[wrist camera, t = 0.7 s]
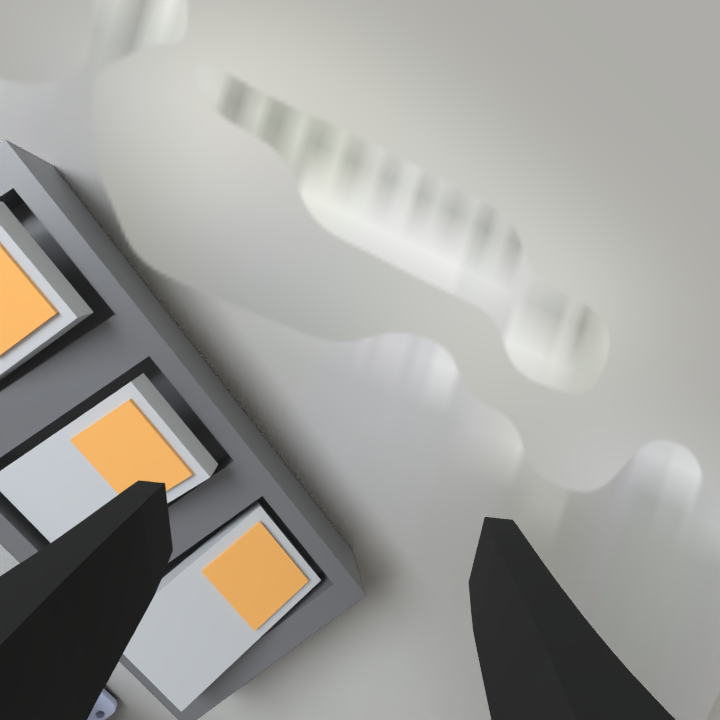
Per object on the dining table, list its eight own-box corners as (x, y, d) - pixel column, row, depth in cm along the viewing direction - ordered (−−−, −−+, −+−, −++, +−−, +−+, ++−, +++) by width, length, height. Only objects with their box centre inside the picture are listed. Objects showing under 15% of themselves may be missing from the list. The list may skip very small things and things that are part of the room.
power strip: (199, 663, 30) (186, 727, 26) (-151, 296, 24) (-246, 299, 19) (352, 551, 31) (365, 595, 26) (53, 165, 24) (4, 139, 20)
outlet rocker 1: (84, 546, 25) (67, 565, 23) (7, 466, 24) (-15, 481, 22) (218, 464, 23) (208, 479, 22) (143, 372, 22) (128, 383, 21)
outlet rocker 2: (180, 695, 25) (181, 714, 23) (108, 623, 23) (105, 638, 22) (315, 570, 27) (322, 581, 26) (256, 499, 26) (261, 507, 25)
